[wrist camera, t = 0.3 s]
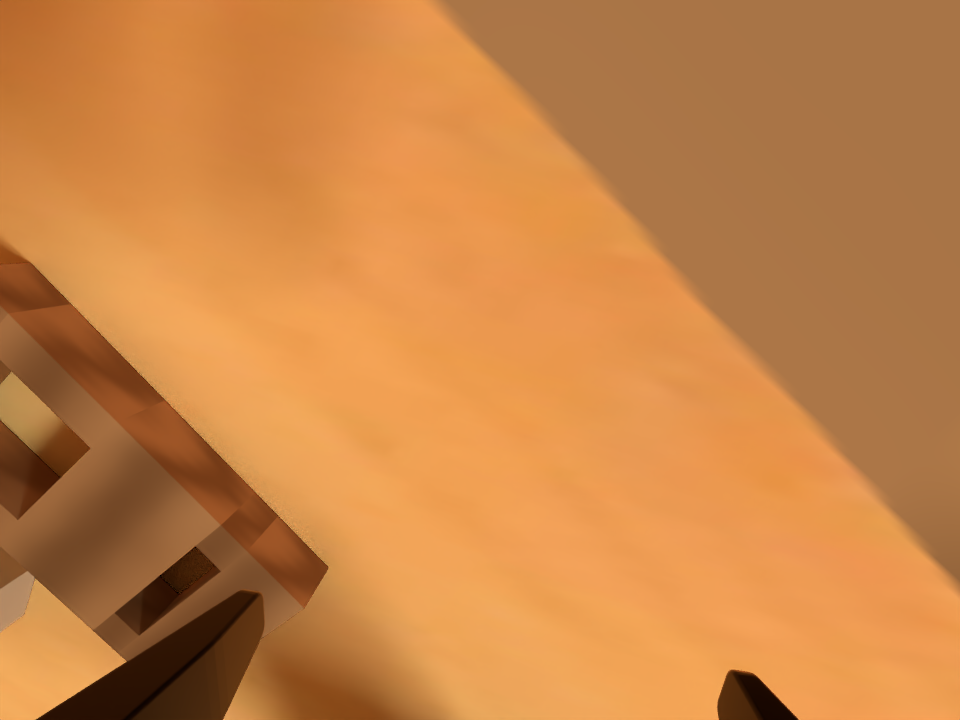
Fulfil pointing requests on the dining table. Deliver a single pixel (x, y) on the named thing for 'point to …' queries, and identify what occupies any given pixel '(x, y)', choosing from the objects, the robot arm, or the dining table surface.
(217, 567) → the socket board
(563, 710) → the dining table surface
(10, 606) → the square bit
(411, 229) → the dining table surface
